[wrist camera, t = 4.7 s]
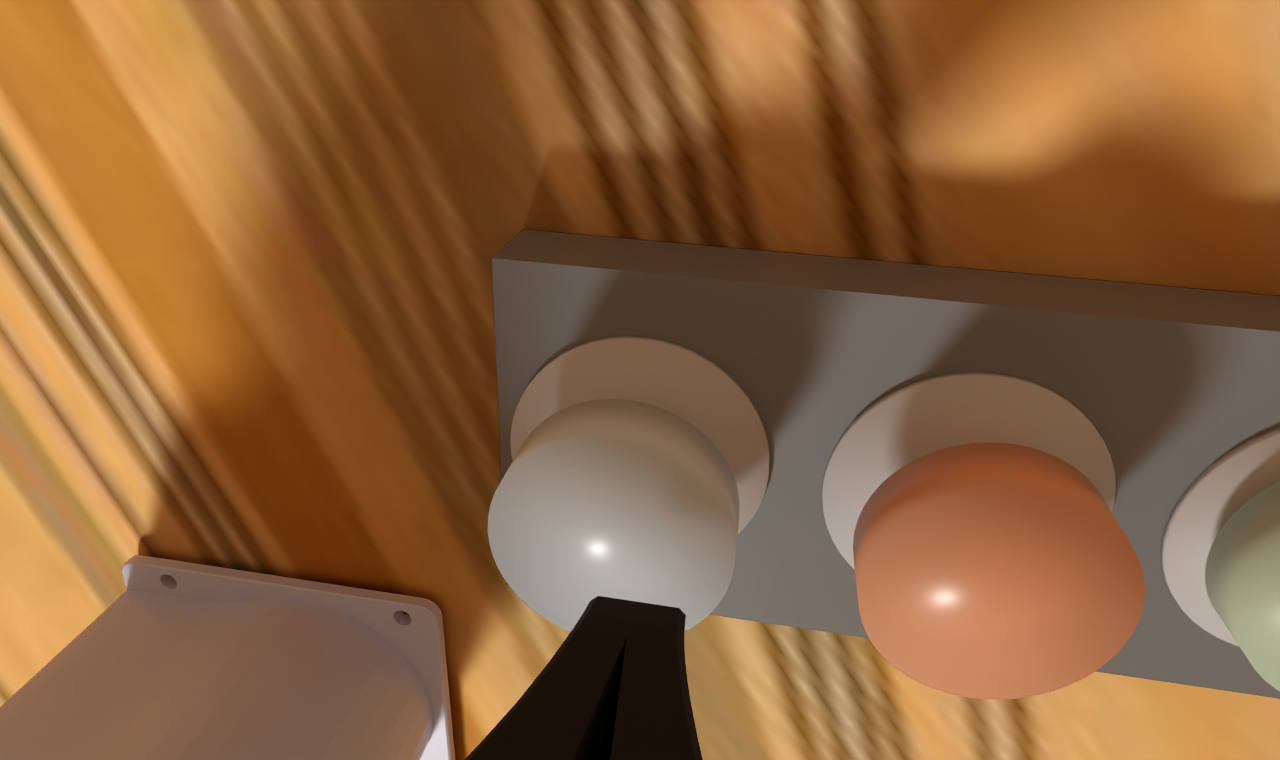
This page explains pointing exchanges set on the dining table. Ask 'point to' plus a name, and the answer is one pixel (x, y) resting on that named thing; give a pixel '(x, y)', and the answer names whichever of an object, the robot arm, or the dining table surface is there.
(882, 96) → the dining table surface
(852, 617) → the button board
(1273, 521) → the green button
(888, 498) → the terracotta button
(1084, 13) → the dining table surface
